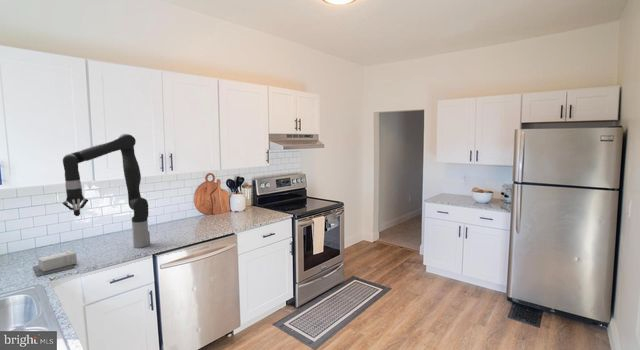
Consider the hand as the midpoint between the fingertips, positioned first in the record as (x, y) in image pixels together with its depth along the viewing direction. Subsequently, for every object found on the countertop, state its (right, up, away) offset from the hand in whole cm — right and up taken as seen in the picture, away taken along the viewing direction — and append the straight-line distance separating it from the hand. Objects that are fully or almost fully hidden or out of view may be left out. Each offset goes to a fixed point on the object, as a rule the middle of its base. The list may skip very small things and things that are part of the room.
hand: (77, 215), depth 196 cm
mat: (-4, -28, -13) cm, 31 cm away
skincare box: (+3, -23, -6) cm, 24 cm away
